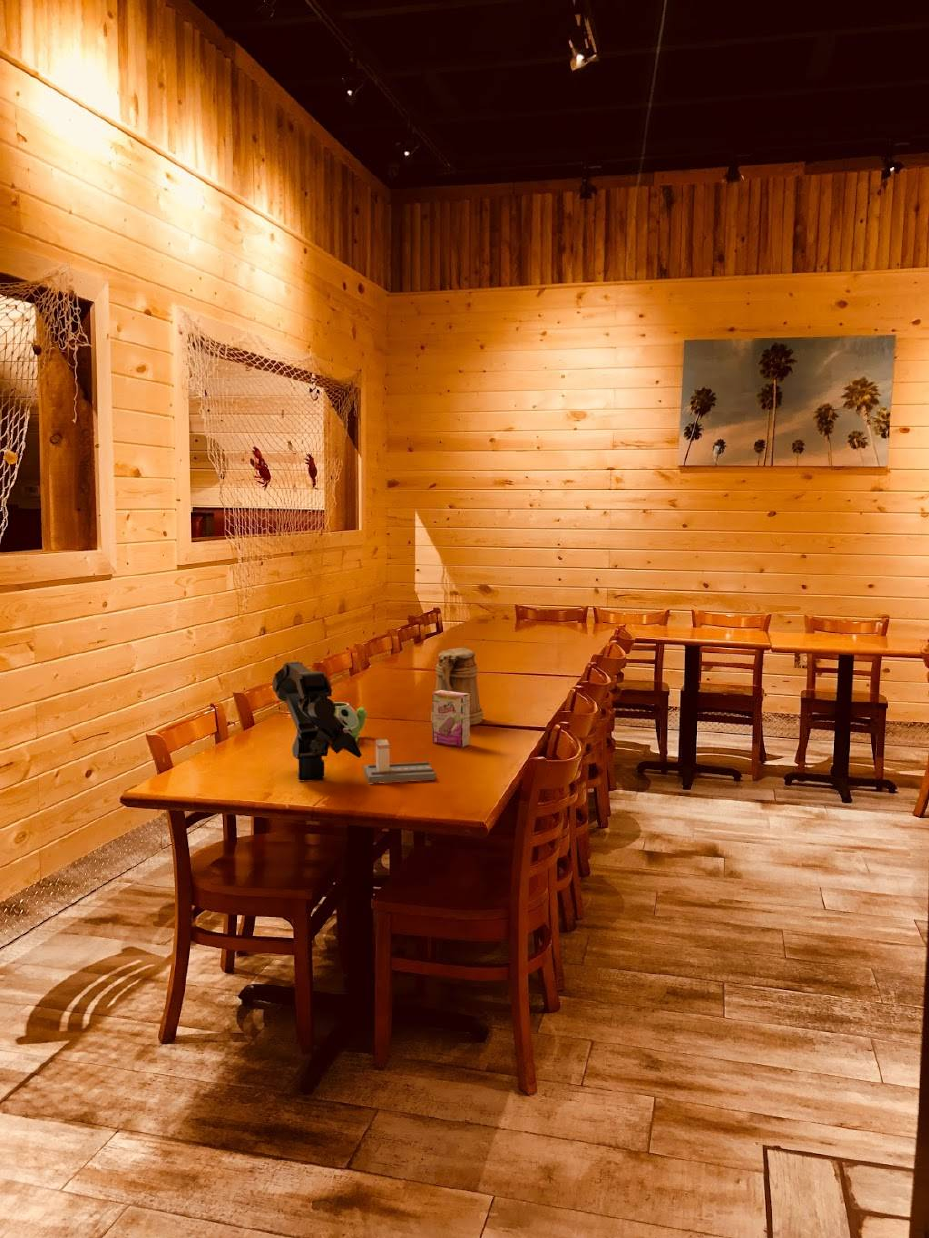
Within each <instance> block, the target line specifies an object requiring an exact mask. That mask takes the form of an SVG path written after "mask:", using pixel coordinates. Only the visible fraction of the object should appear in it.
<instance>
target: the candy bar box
mask: <svg viewBox="0 0 929 1238" xmlns="http://www.w3.org/2000/svg"><path fill="white" fill-rule="evenodd" d="M435 691H436V690H435ZM435 691H433V692H432V709H433V722H432V744H439V745H442V746H443V745H445V746H452V747H457V748H465V747H467V746H469V745H470V742H471V741H470V740H471V739H470V738H471V737H470V735H471V734H470V733H471V732H470V731H471V726H470V694H468V693H460V692H452V691H445V690H439V691H436V692H435Z"/></svg>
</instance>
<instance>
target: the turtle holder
mask: <svg viewBox="0 0 929 1238" xmlns="http://www.w3.org/2000/svg"><path fill="white" fill-rule="evenodd" d="M333 703H334V705H335V713H334V714H335V715H336V717H337V718H343V719H344V720H345V721H346V722H347V723H348V725H347V726H346V725H345V728H344V730H345V729H346V730H348V729H349V728H350V729H351V731H352V733H353V736H354V738H355V740H356V743H358V742H357V741H359V735H360V732H361V731H362V730H363V727H364V725H365V723H366V722H365V719H367V717H368V712H367V711H366V709H365V707H364V706H362V707H359V708H357V709H356V710H355V709H354V708H353V707H352V706H351V705H350V703H349V702H343V701H340V702H339V701H337V702H333ZM332 740H333V739H332ZM332 740H331V741H332ZM329 745H330V746H331V743H329Z"/></svg>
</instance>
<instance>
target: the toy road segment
mask: <svg viewBox="0 0 929 1238" xmlns="http://www.w3.org/2000/svg"><path fill="white" fill-rule="evenodd" d="M389 770H390V771H379V772H378V770H377V768H376V764H367V765H365V764H364V765H363V772H365V773H364V776H365V775H366V776H365V779H366V780H368V781H367V783H368V782H369V783H379V782H396V781H410V780H436V773H435V771H434V768H432V767H431V765H430V761H422V762H421V761H420V762H419V761H418V762H417V761H416V762H401V763H400V762H399V763H389Z"/></svg>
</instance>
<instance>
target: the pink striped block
mask: <svg viewBox="0 0 929 1238" xmlns="http://www.w3.org/2000/svg"><path fill="white" fill-rule="evenodd" d="M390 748H391V747H390V743H389V741H388V739H375V765H376V768H377V770H378V772H379V771H390V770H389V764H390Z"/></svg>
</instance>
